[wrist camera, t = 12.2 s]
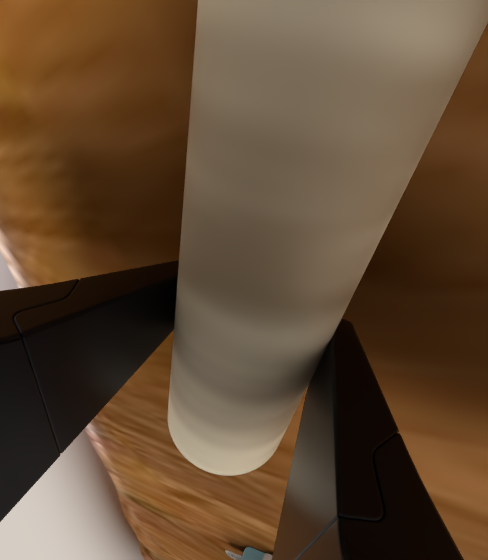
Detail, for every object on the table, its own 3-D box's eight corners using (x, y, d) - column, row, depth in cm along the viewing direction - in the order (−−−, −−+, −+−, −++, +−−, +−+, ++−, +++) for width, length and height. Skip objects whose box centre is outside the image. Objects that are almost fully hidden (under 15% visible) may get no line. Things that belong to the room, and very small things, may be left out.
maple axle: (276, -74, 6) (130, -285, 3) (506, -51, 5) (712, -341, 2) (205, 350, 13) (141, 433, 9) (296, 394, 12) (258, 503, 8)
